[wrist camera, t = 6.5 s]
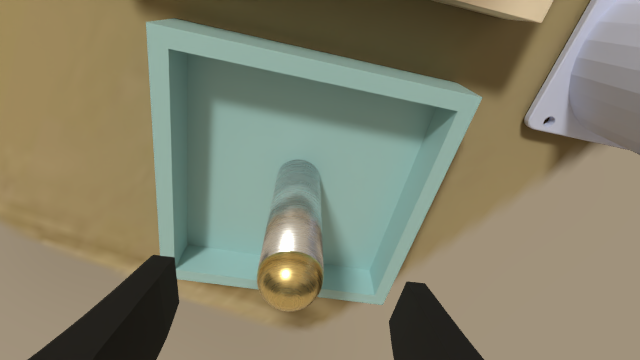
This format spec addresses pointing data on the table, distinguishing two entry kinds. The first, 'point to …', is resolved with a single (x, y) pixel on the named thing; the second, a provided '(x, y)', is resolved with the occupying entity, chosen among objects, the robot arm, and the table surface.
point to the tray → (293, 153)
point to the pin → (293, 240)
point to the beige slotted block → (506, 8)
